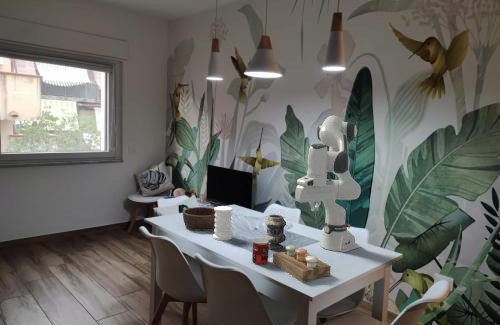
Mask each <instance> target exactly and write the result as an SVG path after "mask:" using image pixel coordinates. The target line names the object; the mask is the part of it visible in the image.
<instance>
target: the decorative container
mask: <svg viewBox="0 0 500 325" xmlns="http://www.w3.org/2000/svg"><path fill="white" fill-rule="evenodd" d="M213 208H214V211H215V225H214V226H215V228H214V234H212V239H214V240H216V241H223V242H224V241H230V240H232V238H233V235H232V234H231V232H232V229H231V228H232V214H233V213H232V212H233V207H231V206H226V205H225V206H224V205H221V206H215V207H213Z"/></svg>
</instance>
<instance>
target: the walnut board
mask: <svg viewBox="0 0 500 325" xmlns="http://www.w3.org/2000/svg"><path fill="white" fill-rule="evenodd" d="M307 256H312V255H311V254H309V253H307V254H305V261H303V262H299V261H297V253H295V256H288V255H287V250H286V251H281V252H276V253H275V252H274V253H273V254H272V264H273V265H275V266H276V267H278V268H279V269H281V270H282V271H283V272H285V271H286V272H285V273H286V274H288V273H289V274H288V275H290V276H291V275H292V276H291V277H293V278H295V279H296V280H298V281H299V282H300V283H306V282H312V281H316V280H319V279H325V278H328V277H330V276H331V269H332V268H331V267H332V266H331V265H330V264H328V263H326V262H323V261H322V260H320V259H318V262H316V267H315V268H309V267H307V261H306V257H307Z"/></svg>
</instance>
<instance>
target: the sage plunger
mask: <svg viewBox="0 0 500 325" xmlns="http://www.w3.org/2000/svg"><path fill="white" fill-rule="evenodd" d="M296 249H298V247H297V246H295V245H286V246H285V250H286V251H287V255H288V256H295V250H296Z"/></svg>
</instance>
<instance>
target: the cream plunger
mask: <svg viewBox="0 0 500 325" xmlns="http://www.w3.org/2000/svg"><path fill="white" fill-rule="evenodd" d="M318 260H319V258H318V257H317V256H313V255H311V256H307V257H306V261H307V267H309V268H315V267H316V262H318Z"/></svg>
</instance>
